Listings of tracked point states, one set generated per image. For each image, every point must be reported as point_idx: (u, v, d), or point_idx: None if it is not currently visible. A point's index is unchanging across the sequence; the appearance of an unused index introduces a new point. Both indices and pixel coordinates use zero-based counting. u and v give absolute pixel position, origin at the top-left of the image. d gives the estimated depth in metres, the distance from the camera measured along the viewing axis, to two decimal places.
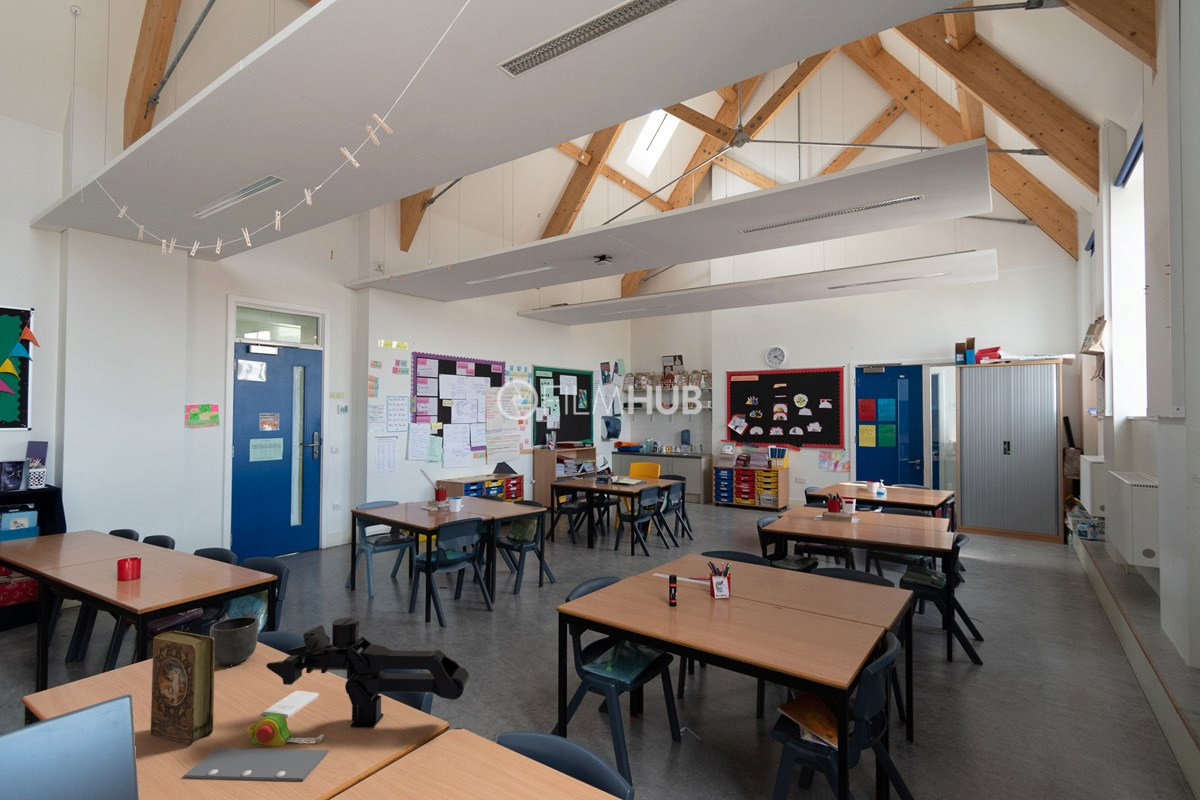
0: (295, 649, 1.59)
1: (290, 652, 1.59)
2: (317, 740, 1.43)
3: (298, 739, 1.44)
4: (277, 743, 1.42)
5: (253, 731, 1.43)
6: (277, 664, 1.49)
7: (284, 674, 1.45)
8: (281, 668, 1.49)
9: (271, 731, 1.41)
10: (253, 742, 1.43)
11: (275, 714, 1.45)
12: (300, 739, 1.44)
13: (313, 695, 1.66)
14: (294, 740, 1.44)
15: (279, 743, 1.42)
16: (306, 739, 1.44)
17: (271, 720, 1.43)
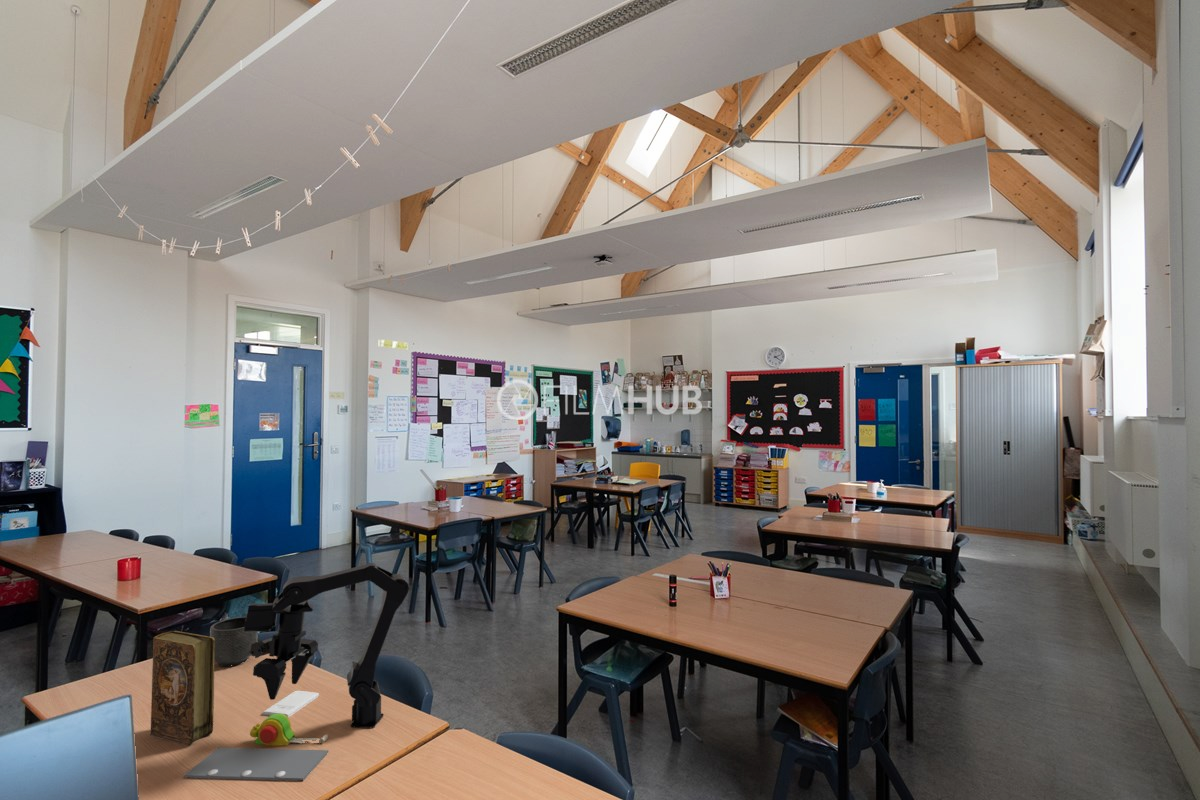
0: (292, 674, 1.49)
1: (294, 680, 1.49)
2: (321, 740, 1.43)
3: (301, 739, 1.44)
4: (280, 744, 1.42)
5: (256, 731, 1.43)
6: (267, 686, 1.39)
7: (264, 675, 1.36)
8: (272, 681, 1.39)
9: (275, 731, 1.41)
10: (256, 742, 1.43)
11: (278, 714, 1.45)
12: (303, 739, 1.44)
13: (313, 695, 1.66)
14: (297, 740, 1.44)
15: (283, 743, 1.42)
16: (309, 739, 1.44)
17: (275, 720, 1.43)
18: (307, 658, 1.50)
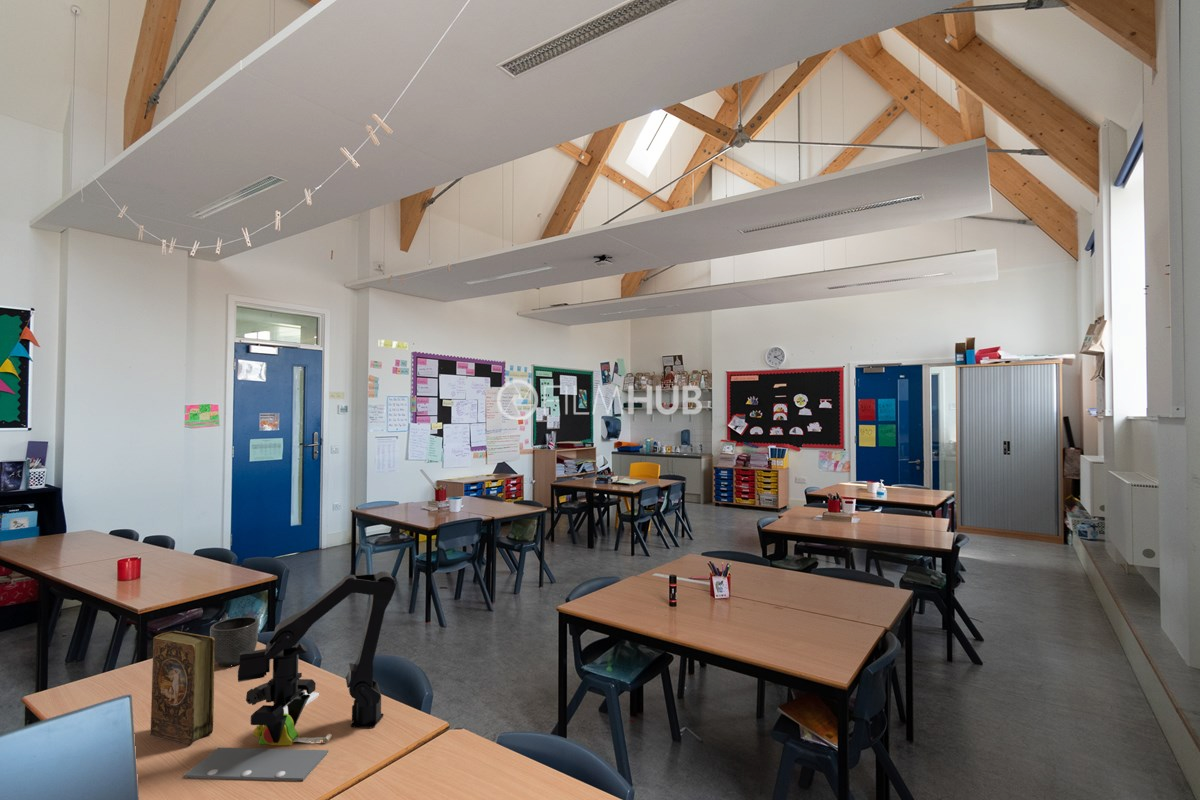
0: None
1: None
2: (324, 740, 1.43)
3: (305, 739, 1.44)
4: (284, 743, 1.42)
5: (260, 731, 1.43)
6: (270, 730, 1.40)
7: (262, 723, 1.35)
8: (274, 725, 1.40)
9: None
10: (260, 742, 1.43)
11: None
12: (307, 739, 1.44)
13: (313, 695, 1.66)
14: (301, 740, 1.44)
15: (286, 743, 1.42)
16: (313, 739, 1.44)
17: None
18: (303, 701, 1.48)
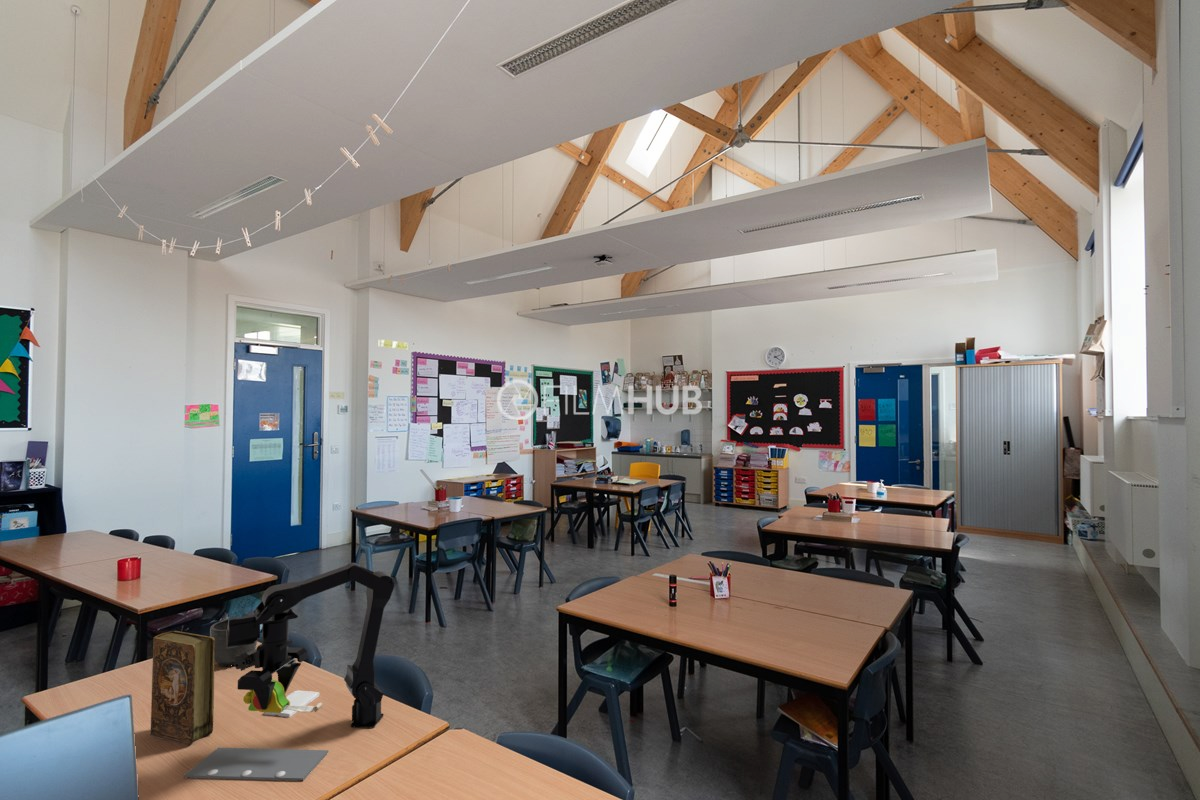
0: None
1: None
2: (315, 708, 1.39)
3: (295, 707, 1.40)
4: (273, 710, 1.38)
5: (250, 698, 1.40)
6: (258, 696, 1.36)
7: (249, 688, 1.31)
8: (262, 691, 1.36)
9: None
10: (250, 709, 1.39)
11: (272, 681, 1.41)
12: (297, 707, 1.40)
13: (314, 694, 1.66)
14: (291, 708, 1.40)
15: (276, 710, 1.38)
16: (304, 707, 1.40)
17: None
18: (293, 669, 1.44)
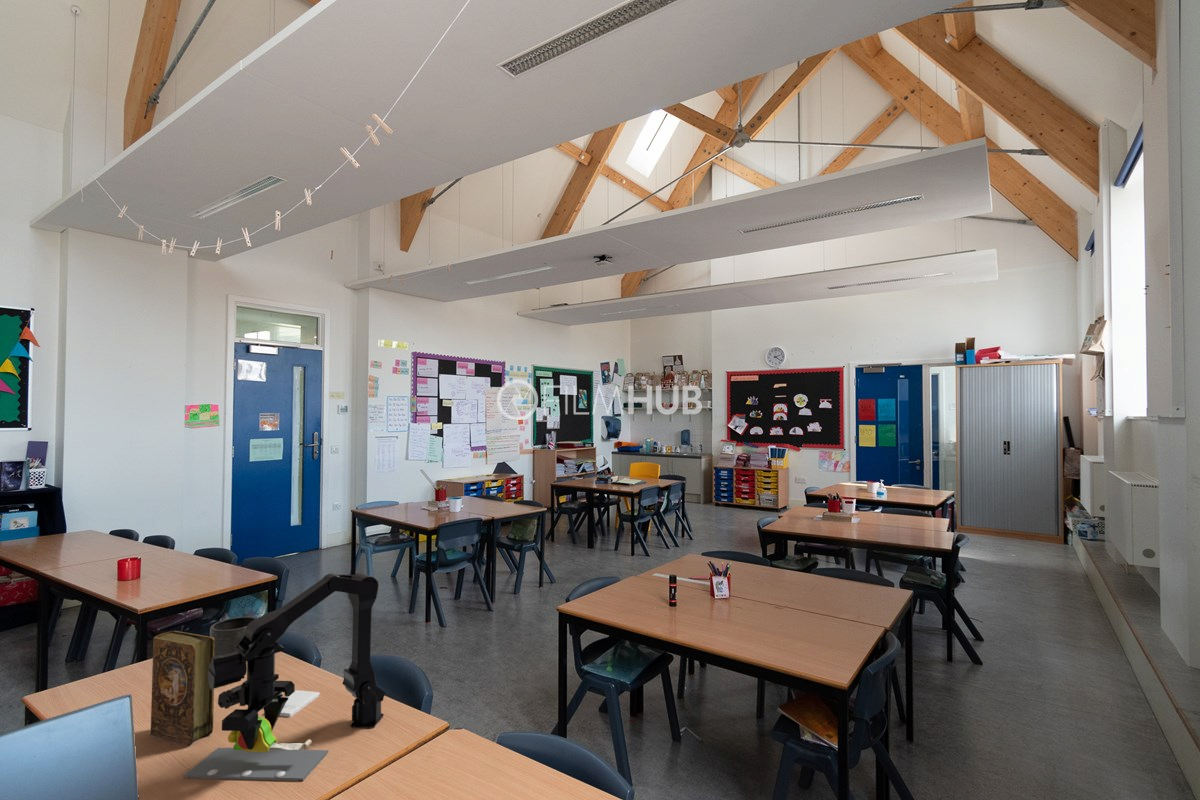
0: None
1: None
2: (303, 746, 1.33)
3: (283, 745, 1.35)
4: (260, 749, 1.32)
5: (235, 736, 1.34)
6: (243, 735, 1.30)
7: (234, 729, 1.25)
8: (248, 731, 1.30)
9: None
10: (235, 748, 1.33)
11: (259, 718, 1.35)
12: (285, 745, 1.35)
13: (314, 694, 1.67)
14: (279, 746, 1.34)
15: (263, 749, 1.32)
16: (292, 745, 1.34)
17: None
18: (280, 704, 1.38)
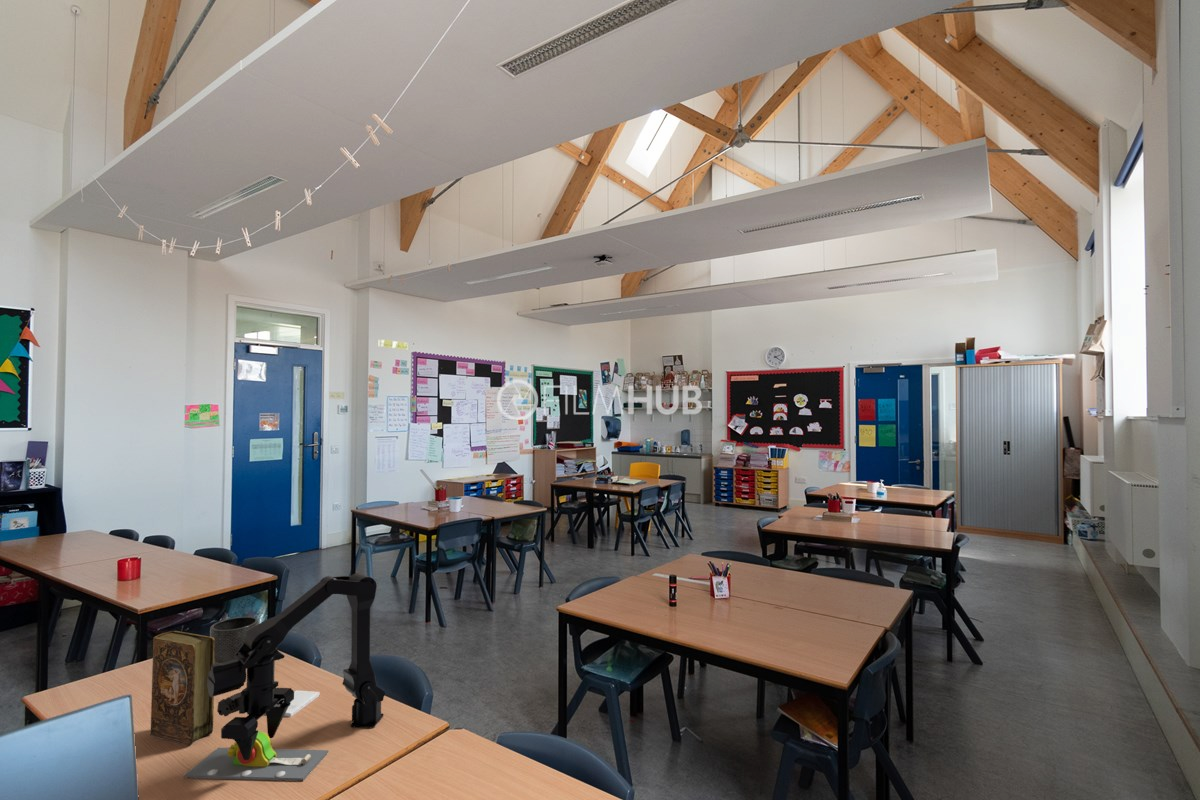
0: (268, 728, 1.39)
1: (271, 734, 1.38)
2: (303, 761, 1.33)
3: (283, 759, 1.34)
4: (259, 764, 1.32)
5: (234, 751, 1.34)
6: (239, 746, 1.29)
7: (233, 737, 1.25)
8: (244, 741, 1.29)
9: (253, 751, 1.32)
10: (234, 763, 1.33)
11: (258, 732, 1.35)
12: (285, 759, 1.34)
13: (314, 694, 1.67)
14: (278, 760, 1.34)
15: (262, 764, 1.32)
16: (291, 759, 1.34)
17: None
18: (282, 709, 1.39)
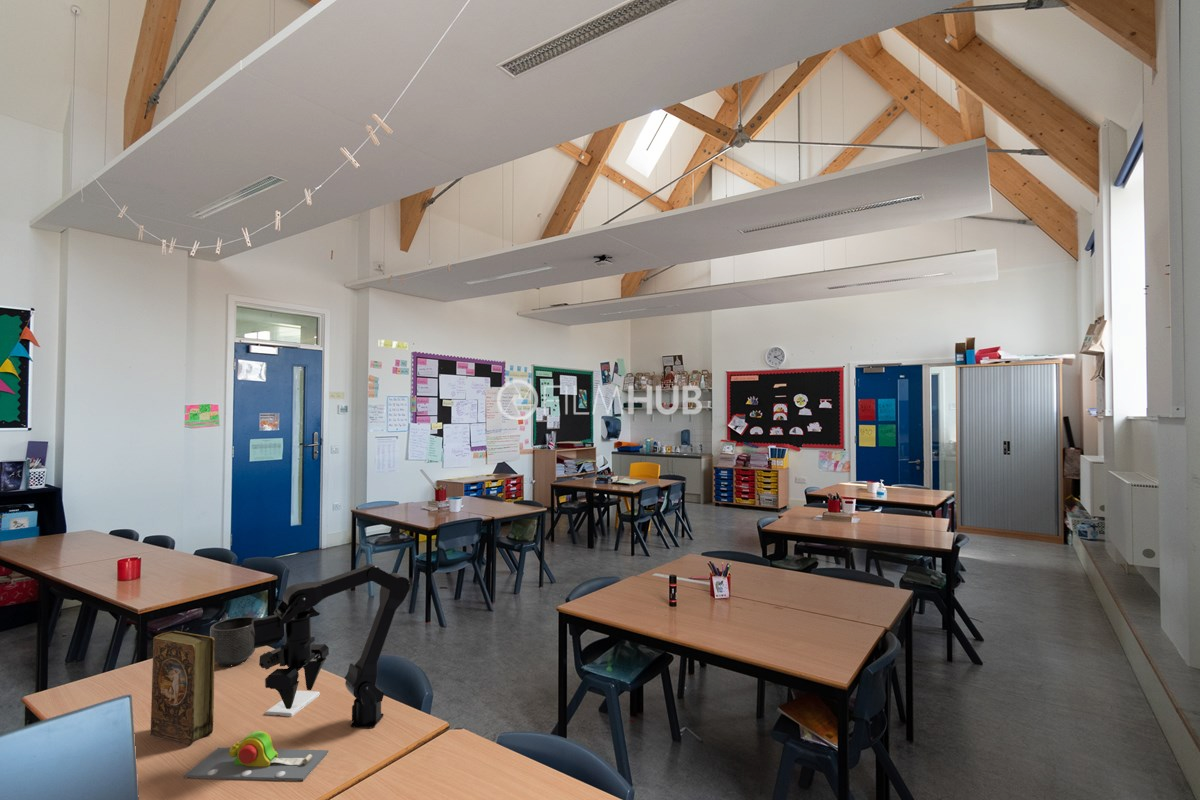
0: (306, 681, 1.47)
1: (309, 686, 1.47)
2: (304, 761, 1.33)
3: (284, 759, 1.34)
4: (261, 764, 1.32)
5: (236, 751, 1.34)
6: (282, 696, 1.36)
7: (277, 686, 1.33)
8: (286, 691, 1.37)
9: (255, 751, 1.32)
10: (235, 763, 1.33)
11: (259, 732, 1.35)
12: (286, 759, 1.34)
13: (314, 694, 1.67)
14: (280, 761, 1.34)
15: (263, 764, 1.32)
16: (292, 759, 1.34)
17: (255, 739, 1.33)
18: (319, 663, 1.47)
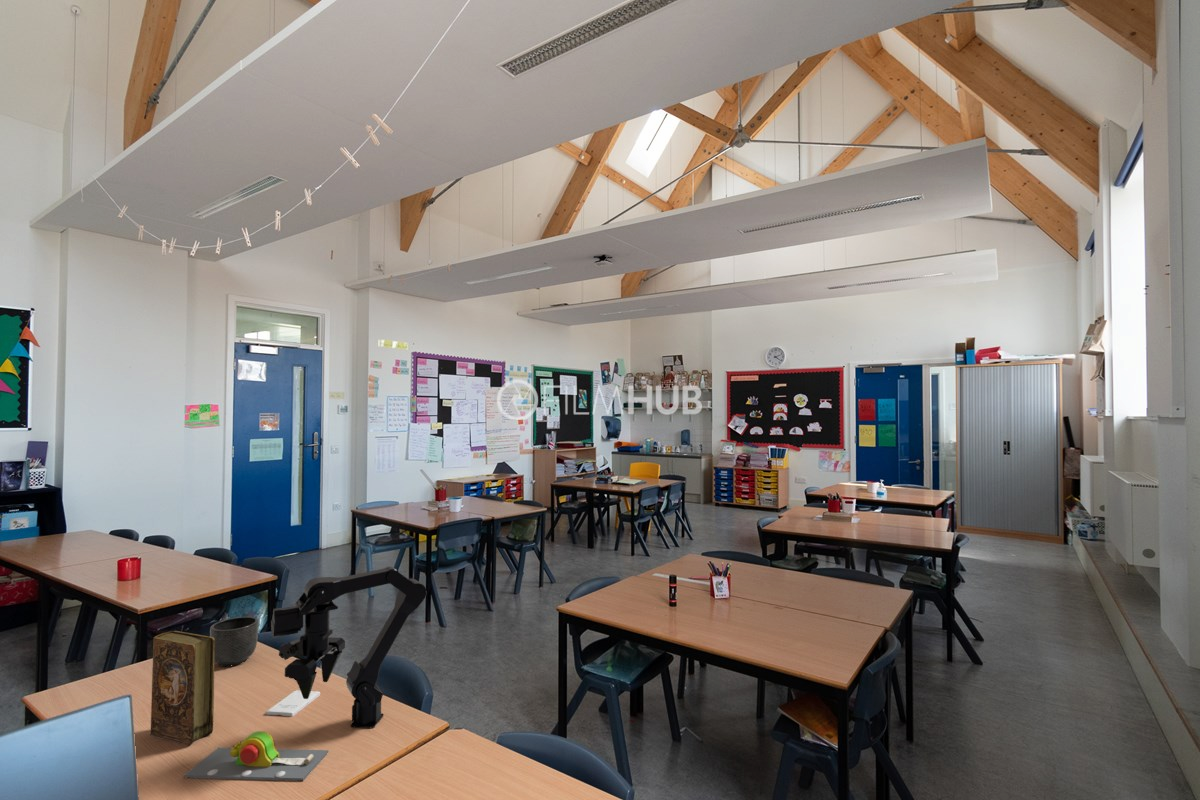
0: (323, 672, 1.51)
1: (325, 678, 1.50)
2: (306, 761, 1.33)
3: (285, 759, 1.34)
4: (262, 764, 1.32)
5: (237, 751, 1.34)
6: (300, 686, 1.40)
7: (296, 675, 1.37)
8: (304, 681, 1.41)
9: (256, 751, 1.31)
10: (237, 763, 1.33)
11: (261, 732, 1.35)
12: (287, 759, 1.34)
13: (315, 694, 1.67)
14: (281, 761, 1.34)
15: (265, 764, 1.32)
16: (294, 759, 1.34)
17: (256, 739, 1.33)
18: (336, 656, 1.51)
